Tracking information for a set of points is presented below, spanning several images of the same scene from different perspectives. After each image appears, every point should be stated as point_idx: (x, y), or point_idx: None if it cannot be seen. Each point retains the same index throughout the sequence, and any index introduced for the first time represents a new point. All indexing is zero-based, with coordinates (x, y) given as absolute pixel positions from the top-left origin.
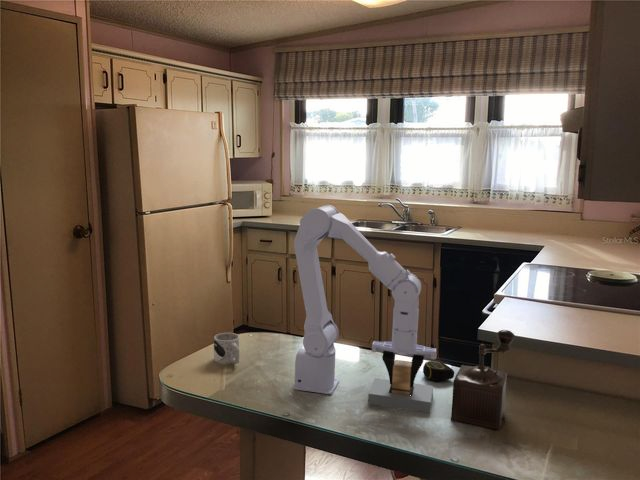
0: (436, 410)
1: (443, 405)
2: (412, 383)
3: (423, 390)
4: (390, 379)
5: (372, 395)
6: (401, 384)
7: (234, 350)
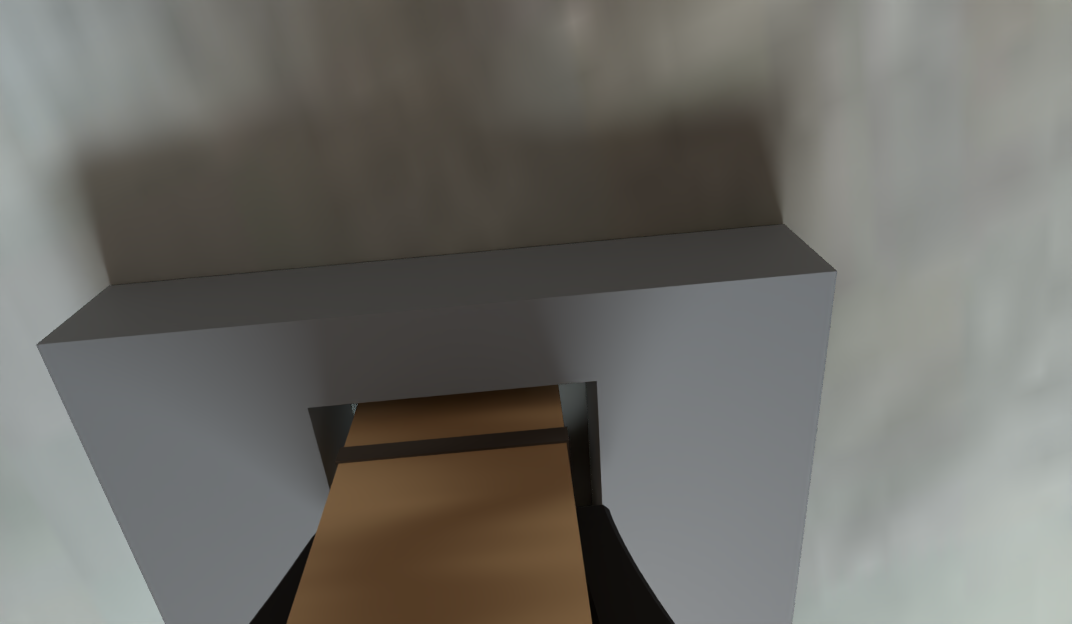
0: None
1: (65, 477)
2: (300, 563)
3: (242, 572)
4: (611, 545)
5: (777, 267)
6: (440, 499)
7: None
